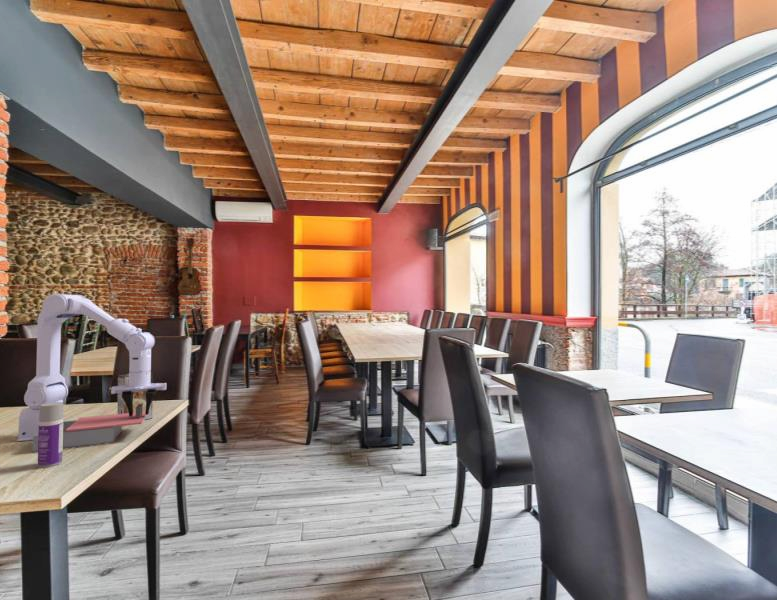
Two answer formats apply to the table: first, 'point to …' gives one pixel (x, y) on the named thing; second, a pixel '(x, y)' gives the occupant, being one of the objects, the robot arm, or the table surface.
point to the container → (50, 434)
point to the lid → (108, 420)
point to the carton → (84, 436)
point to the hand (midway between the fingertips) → (139, 414)
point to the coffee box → (137, 398)
